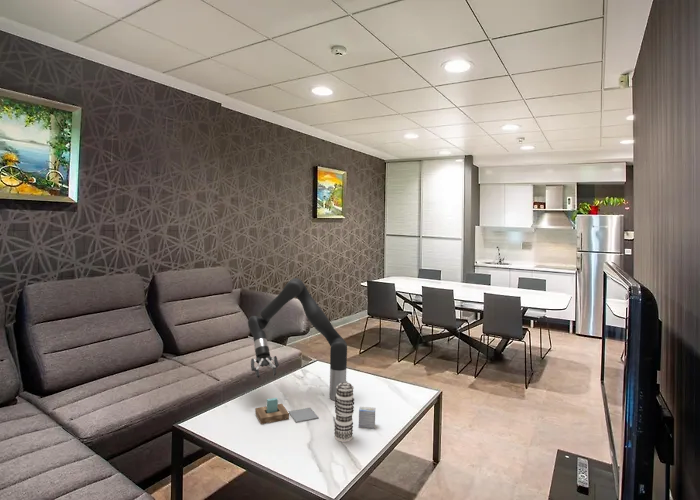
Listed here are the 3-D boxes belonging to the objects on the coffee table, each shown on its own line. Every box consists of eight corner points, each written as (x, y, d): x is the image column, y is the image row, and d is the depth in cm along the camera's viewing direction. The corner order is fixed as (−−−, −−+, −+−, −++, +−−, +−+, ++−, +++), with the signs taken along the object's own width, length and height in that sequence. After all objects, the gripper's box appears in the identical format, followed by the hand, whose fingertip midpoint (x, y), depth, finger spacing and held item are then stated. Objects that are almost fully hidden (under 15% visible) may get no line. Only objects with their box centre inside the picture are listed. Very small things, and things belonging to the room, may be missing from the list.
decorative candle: (330, 439, 191) (331, 386, 189) (338, 430, 200) (339, 379, 198) (348, 443, 188) (350, 389, 186) (356, 434, 196) (357, 382, 194)
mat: (310, 408, 221) (310, 407, 221) (318, 418, 211) (318, 417, 211) (288, 412, 216) (288, 411, 216) (295, 422, 205) (295, 421, 205)
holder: (281, 409, 220) (282, 403, 220) (288, 419, 209) (289, 413, 209) (255, 413, 214) (255, 408, 213) (261, 424, 203) (261, 418, 203)
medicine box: (375, 424, 207) (375, 407, 206) (374, 428, 202) (375, 411, 202) (359, 423, 207) (359, 406, 207) (358, 427, 203) (358, 410, 202)
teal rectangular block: (276, 414, 213) (276, 397, 213) (277, 416, 212) (277, 399, 211) (266, 416, 211) (266, 399, 211) (267, 418, 209) (267, 400, 209)
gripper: (249, 346, 224) (254, 374, 215) (275, 343, 230) (281, 371, 221) (247, 353, 229) (252, 381, 220) (273, 350, 235) (278, 377, 226)
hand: (266, 376), depth 220 cm, fingers open, 8 cm apart
